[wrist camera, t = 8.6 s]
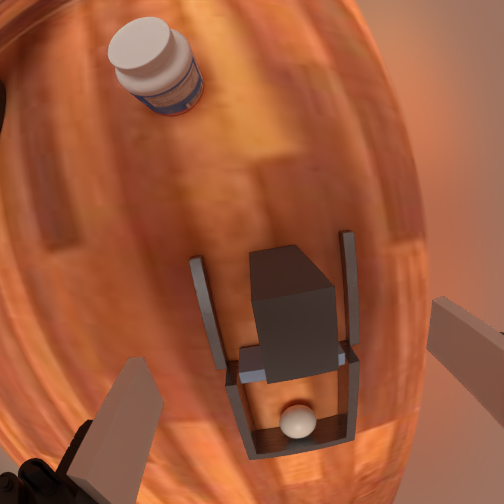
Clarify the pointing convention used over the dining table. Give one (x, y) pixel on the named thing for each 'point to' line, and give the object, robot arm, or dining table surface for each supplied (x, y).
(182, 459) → the dining table surface
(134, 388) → the robot arm
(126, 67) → the pill bottle
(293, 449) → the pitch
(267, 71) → the dining table surface
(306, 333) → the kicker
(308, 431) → the ball
